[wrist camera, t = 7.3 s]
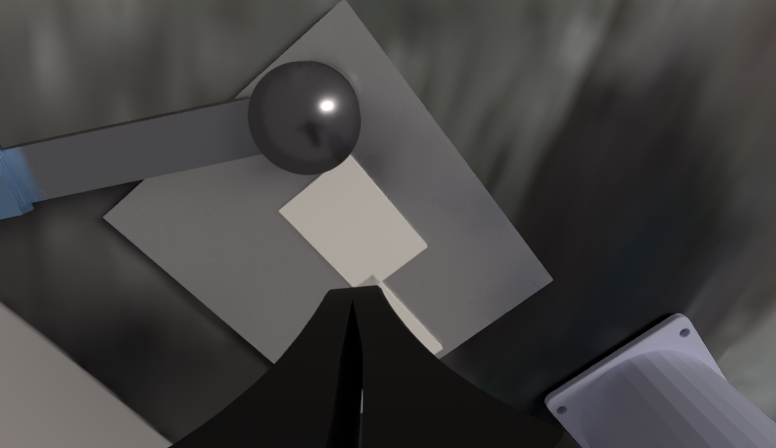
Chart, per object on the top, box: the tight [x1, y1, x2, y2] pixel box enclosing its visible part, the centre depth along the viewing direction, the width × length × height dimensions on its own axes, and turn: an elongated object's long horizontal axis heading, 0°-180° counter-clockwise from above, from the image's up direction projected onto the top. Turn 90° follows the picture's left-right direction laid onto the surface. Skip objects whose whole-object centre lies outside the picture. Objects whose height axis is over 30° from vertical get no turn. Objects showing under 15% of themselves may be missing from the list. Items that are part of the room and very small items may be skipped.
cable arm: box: [0, 61, 361, 219], centre depth 13 cm, size 12×3×4 cm, turn 101°
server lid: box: [103, 0, 553, 413], centre depth 18 cm, size 14×12×1 cm
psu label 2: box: [357, 275, 443, 355], centre depth 19 cm, size 5×4×1 cm
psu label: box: [279, 155, 427, 287], centre depth 17 cm, size 5×4×1 cm
